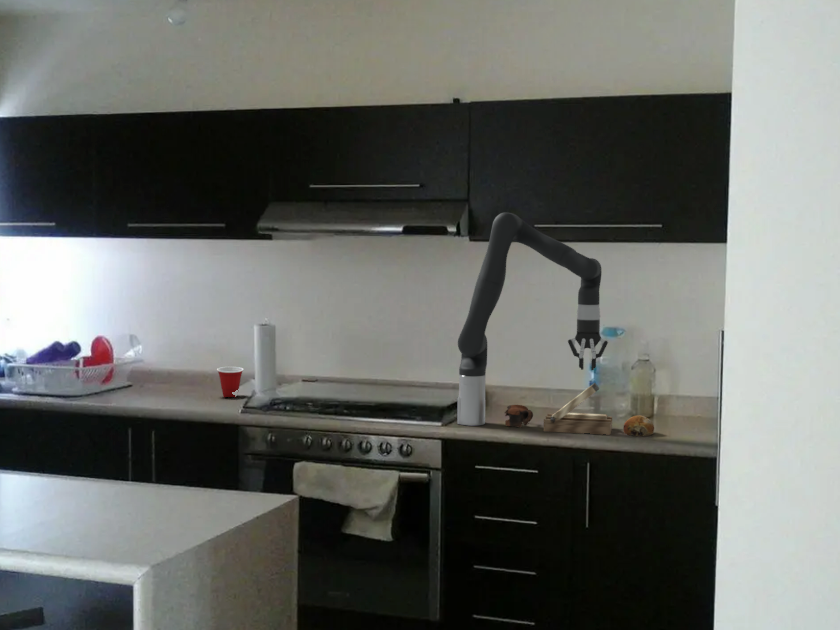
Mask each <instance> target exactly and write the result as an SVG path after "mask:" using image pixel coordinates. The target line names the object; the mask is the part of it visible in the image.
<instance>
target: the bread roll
mask: <svg viewBox="0 0 840 630" xmlns="http://www.w3.org/2000/svg"><path fill="white" fill-rule="evenodd" d="M654 431H655V425H654V423H653V422H652V420H651V419H649V418H648V417H646V416H644V415H639V414H638V415H633V416H631V417H629V418H628V419H627V420H626V421H625V422H624V423H623V433H624V434H625V435H626V434H627V436H631V435H633V436H632V437H650V436H651V435H654Z"/></svg>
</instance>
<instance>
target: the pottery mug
mask: <svg viewBox="0 0 840 630" xmlns="http://www.w3.org/2000/svg"><path fill="white" fill-rule="evenodd" d="M504 414H505V415H504V417H508V418H509V419H507V420H505V422H504V423H505V427H506V426H508V427H514V428H515V427H516V428H520V427H521V428H522V425H524V426H527V425H528V424H529V423H530V421H532V419H533V416H534V412H533V411H532V410H530V409H529V408H528V407H526V406H525V405H522V404H510V405H508V406H506V410H505V411H504Z"/></svg>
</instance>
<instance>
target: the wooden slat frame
mask: <svg viewBox="0 0 840 630" xmlns="http://www.w3.org/2000/svg"><path fill="white" fill-rule="evenodd" d="M553 414H554V413H547V415H546V416H545V418H544V419H543V432H549V433H550V432H551V433H565V434H566V433H567V434H568V433H569V434H584V433H590V435H603V434H606V436H607V435H608V436H611V433H612V430H613V416H608V414H605V413H604V414H603V413H584V412H583V413H581V412H580V413H579V412H569V413H568V414H566V415H565V416H564V417H562V418H561V419H560V420H555V418H551V416H552V415H553ZM550 418H551V419H550Z"/></svg>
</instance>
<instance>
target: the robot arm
mask: <svg viewBox="0 0 840 630" xmlns="http://www.w3.org/2000/svg"><path fill="white" fill-rule="evenodd" d="M490 230H491V231H490V234H489V236H490V237H489V240H488V246H487V250H486V252H485V256H484V258H483V262H482V264H481V267H480V270H479V273H478V276H477V280H476V283H475V285H474V290H473V293H472V297H471V301H470V306H469V310H468V314H467V317H466V320H465V322H464V324H463V327H462V329H461V331H460V334H459V336H458V339H457V347H458V351H460V353H461V355H460V356H461V359H460V364H459V368H458V376H459V377H458V382H459V383H458V384H459V385H458V396H457V410H456V411H457V413H456V414H457V415H456V416H457V419H456V420H457V425H462V426H469V427H471V426H483V425H485V424H486V370H487V365H488V337H487V336H486V329H487V327H488V326H487V325H488V322H489V319H490V317H491V315H492V314H493V311H494V310H495V308H496V306H497V304H498V302H499V299H500V297H501V294H502V292H503V288H504V285H505V281H506V273H507V259H508V254H509V250H510V249H511V244H512V243H513V242H516V243H520V244H522V245H525V246H526V247H528V248H531V249H532V250H533V251H535V252H537V253H539V254H540V255H541V256H543V257H544V258H545V259H547V260H549V261H552V262H553V263H555V264H557V265H559V266H560V267H563V268H564V269H565V268H566V269H567V270H568V271H569V272H571V273H572V274H574V275H576V276H578V277H579V278H580V286H579V287H580V288H579V289H578V292H577V293H578V294H577V309H576V334H575V336H574V337H573V338H569V339H568V340H567V342H568V343H567V344H568V345H569V347H570V351H571V352H572V355H573V356H574V357H576V358H578V367H579V369H580V370H584V367H585V366H584V365H585V364H584V363H585V362H584V360H585V359H584V354H585V350H586V349H590V351H591V363H590V365H591V366H590V370H591V371H594V370H595V369H596V367H597V359H598V358H601V357H602V356H603V354H604V352H605V349H606V348H607V345H608V343H609V340H607V339H604V338H602V337H601V331H600V330H601V328H600V327H601V326H600V325H601V311H600V310H601V309H600V289H601V288H600V287H601V281H602V265H601V262H600V261H599V260H598V259H596V258H590V257H588V256H585V255H583V254H581V253H580V252H577V251H576V249H575V248H573V247H571V246H569V245H567V244H565V243H564V242H561V241H560V240H557V239H555V238H553V237H550V236H549V235H546V234H544V233H543V232H541V231H539V230H537V229H535V228H534V227H532V226H531V225H529V224H528V223H527V222H526V221H524V219H522V218H520V217H519V216H518V215H517V214H515V213H512V212H508V211H507V212H506V211H505V212H501V213H499V214H498V215H496V216H495V218H494V219H493V221H492V226H491V229H490ZM576 342H577V343H578V345H579V346H580V348H579V352H578V351H577V348H576V346H575V345H576ZM599 343H600V346H601V347H600V350H599V352H596V346H597V345H598V344H599Z"/></svg>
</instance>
